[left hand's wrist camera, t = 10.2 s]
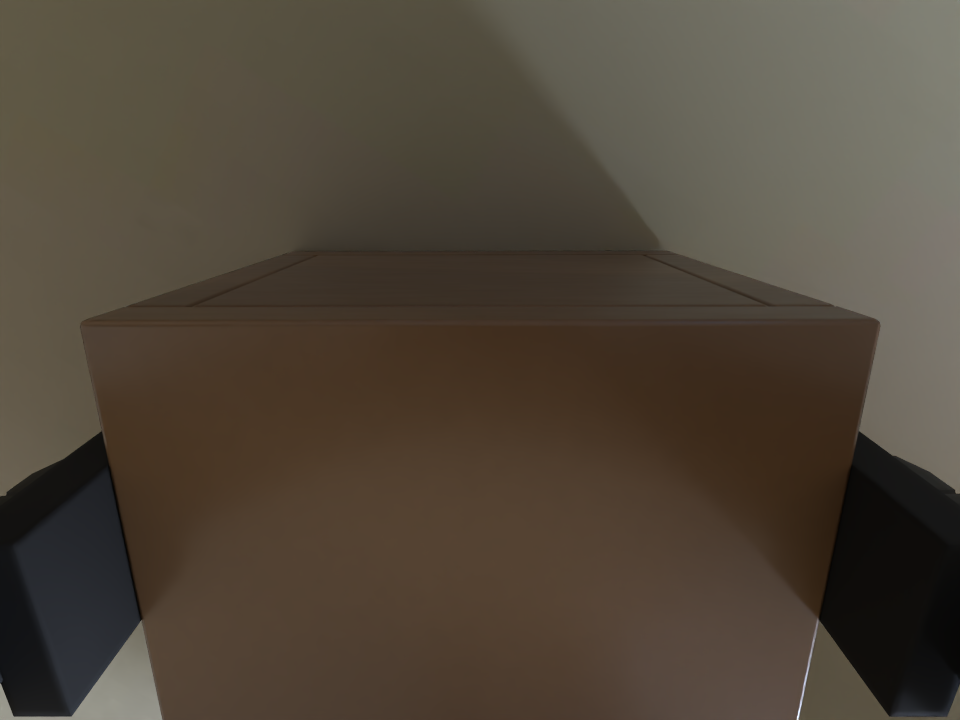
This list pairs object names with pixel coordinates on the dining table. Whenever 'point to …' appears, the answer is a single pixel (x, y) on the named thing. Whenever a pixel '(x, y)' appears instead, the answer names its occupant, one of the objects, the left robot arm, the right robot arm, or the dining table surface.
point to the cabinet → (480, 484)
